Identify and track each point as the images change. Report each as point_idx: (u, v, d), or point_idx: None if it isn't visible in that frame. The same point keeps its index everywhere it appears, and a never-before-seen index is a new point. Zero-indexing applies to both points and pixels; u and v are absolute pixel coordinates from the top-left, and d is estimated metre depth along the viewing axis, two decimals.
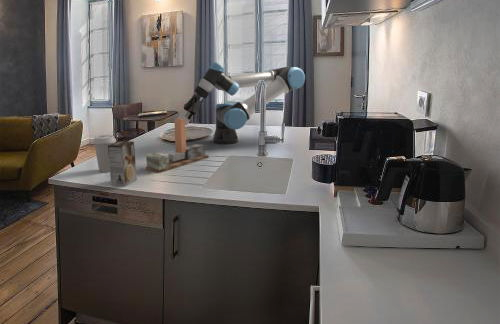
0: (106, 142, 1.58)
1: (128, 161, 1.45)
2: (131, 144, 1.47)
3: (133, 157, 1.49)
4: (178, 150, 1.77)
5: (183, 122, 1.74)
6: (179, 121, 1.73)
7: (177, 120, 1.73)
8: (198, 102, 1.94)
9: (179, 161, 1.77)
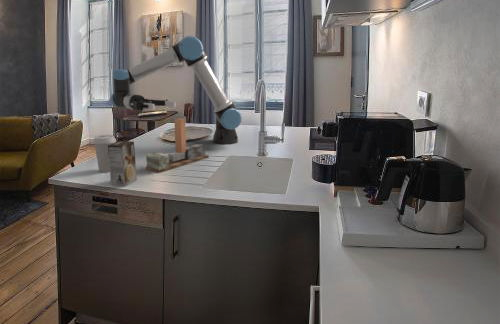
0: (106, 142, 1.58)
1: (128, 161, 1.45)
2: (131, 144, 1.47)
3: (133, 157, 1.49)
4: (178, 150, 1.77)
5: (183, 122, 1.74)
6: (179, 121, 1.73)
7: (177, 120, 1.73)
8: (133, 105, 1.79)
9: (179, 161, 1.77)
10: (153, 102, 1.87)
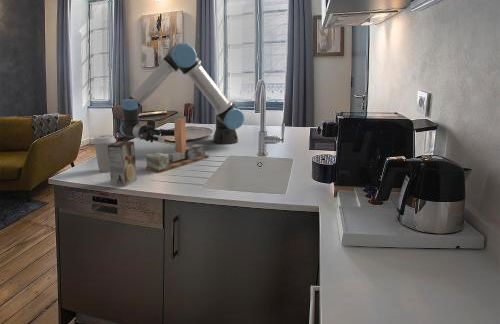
0: (106, 142, 1.58)
1: (128, 161, 1.45)
2: (131, 144, 1.47)
3: (133, 157, 1.49)
4: (178, 150, 1.77)
5: (183, 122, 1.74)
6: (179, 121, 1.73)
7: (177, 120, 1.73)
8: (143, 136, 1.80)
9: (179, 161, 1.77)
10: (162, 132, 1.87)
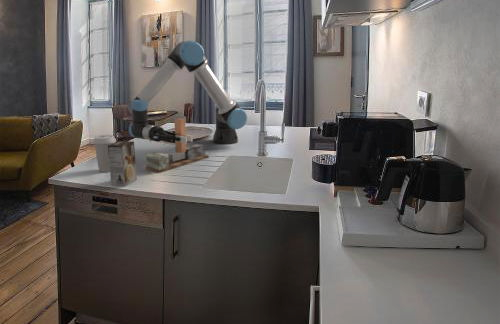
0: (106, 142, 1.58)
1: (128, 161, 1.45)
2: (131, 144, 1.47)
3: (133, 157, 1.49)
4: (178, 150, 1.77)
5: (183, 122, 1.74)
6: (179, 121, 1.73)
7: (177, 120, 1.73)
8: (159, 138, 1.77)
9: (179, 161, 1.77)
10: (170, 134, 1.82)
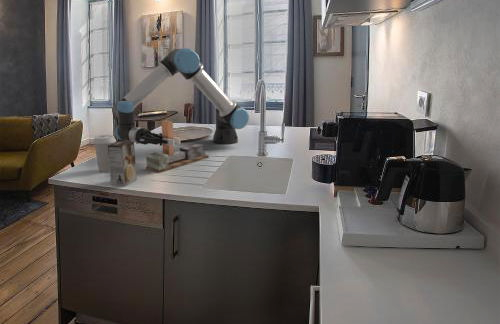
0: (106, 142, 1.58)
1: (128, 161, 1.45)
2: (131, 144, 1.47)
3: (133, 157, 1.49)
4: (165, 153, 1.71)
5: (170, 124, 1.68)
6: (166, 123, 1.66)
7: (164, 122, 1.67)
8: (145, 141, 1.70)
9: (179, 161, 1.77)
10: (158, 137, 1.75)
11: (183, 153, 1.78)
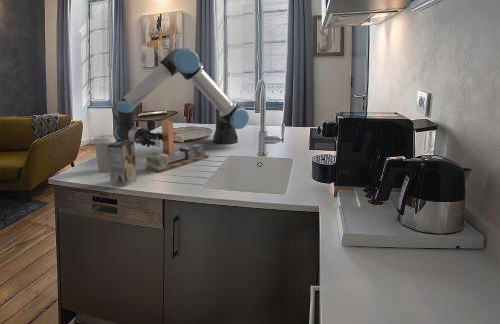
0: (106, 142, 1.58)
1: (128, 161, 1.45)
2: (131, 144, 1.47)
3: (133, 157, 1.49)
4: (165, 153, 1.71)
5: (170, 124, 1.68)
6: (166, 123, 1.66)
7: (164, 122, 1.67)
8: (139, 141, 1.70)
9: (179, 161, 1.77)
10: (160, 136, 1.77)
11: (183, 153, 1.78)
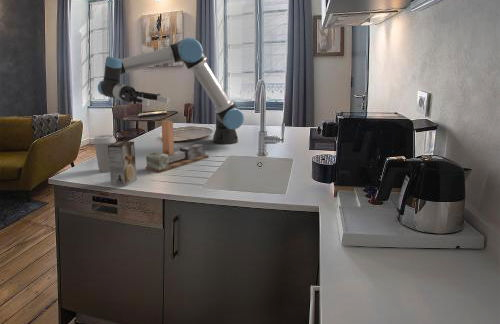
0: (106, 142, 1.58)
1: (128, 161, 1.45)
2: (131, 144, 1.47)
3: (133, 157, 1.49)
4: (165, 153, 1.71)
5: (170, 124, 1.68)
6: (166, 123, 1.66)
7: (164, 122, 1.67)
8: (125, 97, 1.74)
9: (179, 161, 1.77)
10: (145, 95, 1.83)
11: (183, 153, 1.78)
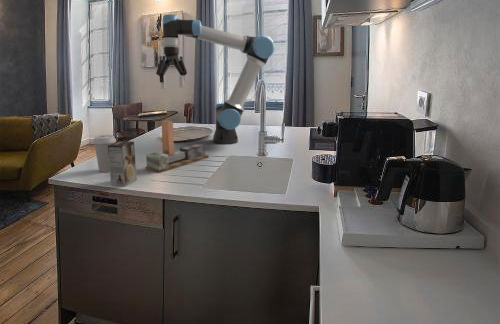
0: (106, 142, 1.58)
1: (128, 161, 1.45)
2: (131, 144, 1.47)
3: (133, 157, 1.49)
4: (165, 153, 1.71)
5: (170, 124, 1.68)
6: (166, 123, 1.66)
7: (164, 122, 1.67)
8: (160, 62, 1.91)
9: (179, 161, 1.77)
10: (176, 66, 2.00)
11: (183, 153, 1.78)
